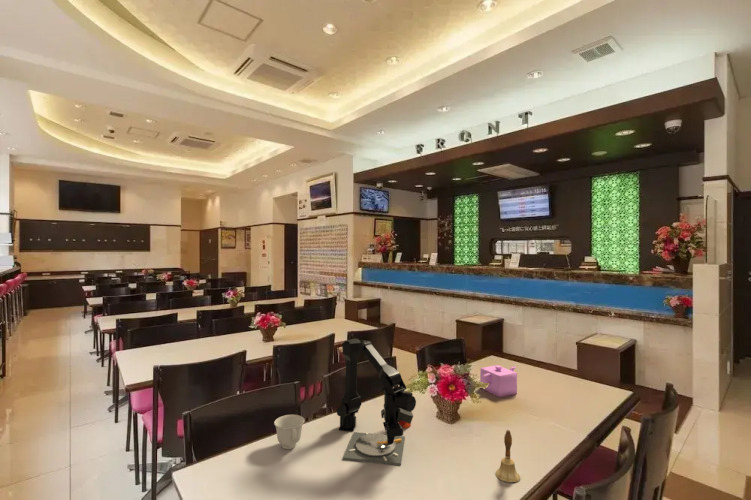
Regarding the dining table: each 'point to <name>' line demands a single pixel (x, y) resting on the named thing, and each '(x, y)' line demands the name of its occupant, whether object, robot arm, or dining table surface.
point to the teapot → (499, 380)
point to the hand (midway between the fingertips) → (391, 443)
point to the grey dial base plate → (391, 458)
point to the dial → (375, 445)
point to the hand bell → (507, 463)
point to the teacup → (289, 430)
